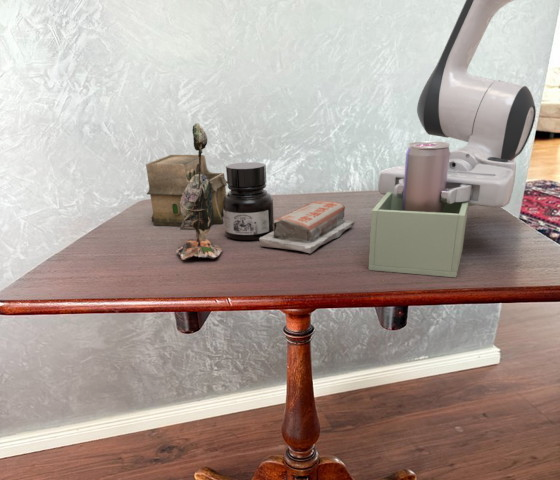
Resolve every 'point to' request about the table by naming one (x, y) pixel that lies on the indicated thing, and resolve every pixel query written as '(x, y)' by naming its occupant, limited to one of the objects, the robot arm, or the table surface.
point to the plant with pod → (198, 207)
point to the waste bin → (416, 238)
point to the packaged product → (308, 227)
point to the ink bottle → (247, 202)
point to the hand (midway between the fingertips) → (421, 195)
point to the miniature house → (180, 188)
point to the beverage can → (425, 176)
